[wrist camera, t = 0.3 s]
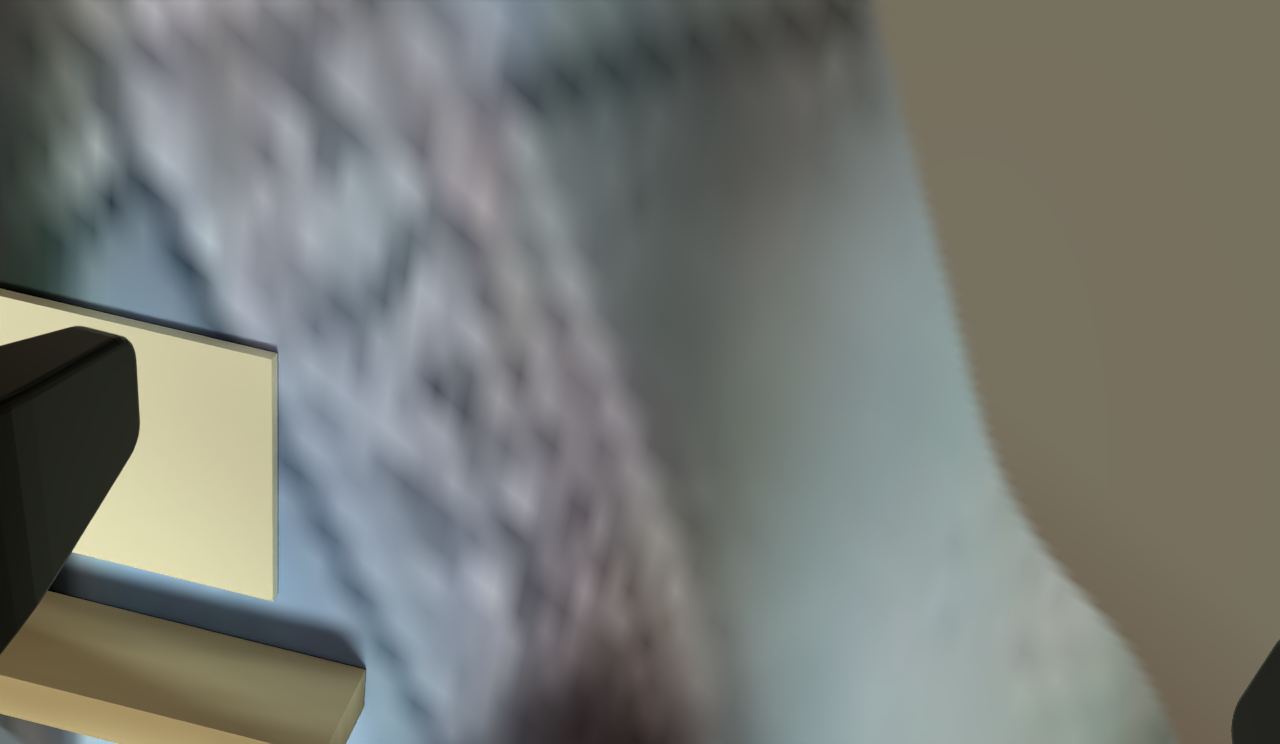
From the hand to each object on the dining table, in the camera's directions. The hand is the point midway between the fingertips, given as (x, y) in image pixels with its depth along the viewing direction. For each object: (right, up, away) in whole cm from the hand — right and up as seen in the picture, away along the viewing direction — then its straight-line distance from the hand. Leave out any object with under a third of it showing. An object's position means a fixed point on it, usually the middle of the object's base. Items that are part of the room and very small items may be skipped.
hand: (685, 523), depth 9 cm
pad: (-14, 0, +20) cm, 24 cm away
